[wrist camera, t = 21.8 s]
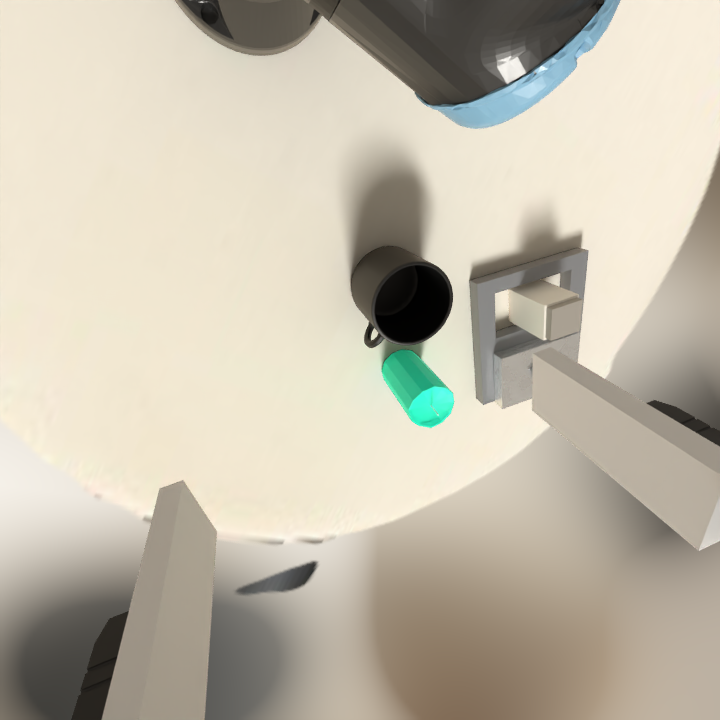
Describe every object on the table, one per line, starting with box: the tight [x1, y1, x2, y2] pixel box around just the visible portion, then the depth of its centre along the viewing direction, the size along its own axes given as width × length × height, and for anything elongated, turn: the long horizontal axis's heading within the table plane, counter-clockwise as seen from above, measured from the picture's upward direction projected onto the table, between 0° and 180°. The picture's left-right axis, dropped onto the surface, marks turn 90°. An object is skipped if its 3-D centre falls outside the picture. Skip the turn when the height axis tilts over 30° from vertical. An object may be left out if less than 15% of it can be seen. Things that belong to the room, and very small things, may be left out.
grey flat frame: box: [469, 248, 588, 405], centre depth 57 cm, size 20×17×2 cm
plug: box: [508, 279, 583, 341], centre depth 52 cm, size 5×5×8 cm
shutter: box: [493, 331, 580, 409], centre depth 57 cm, size 9×13×3 cm
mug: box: [351, 246, 453, 348], centre depth 45 cm, size 9×12×9 cm
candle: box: [382, 349, 454, 428], centre depth 50 cm, size 6×6×12 cm
